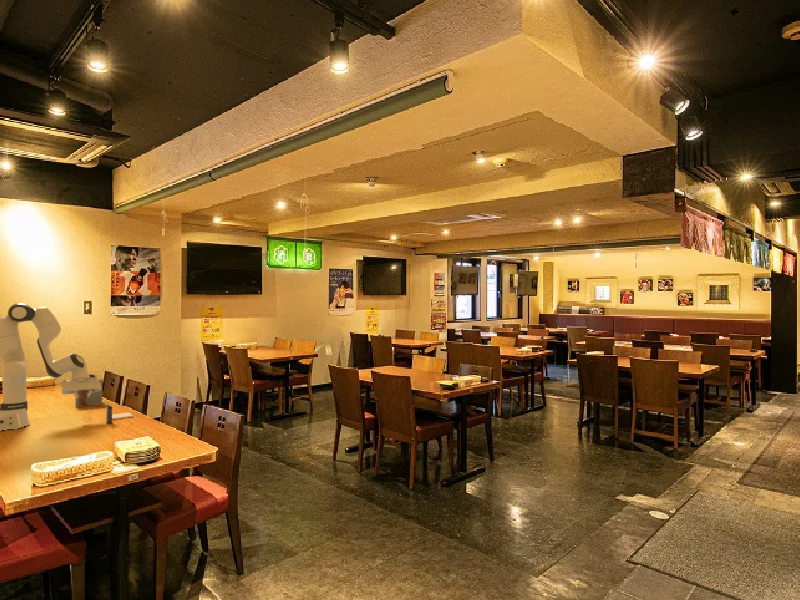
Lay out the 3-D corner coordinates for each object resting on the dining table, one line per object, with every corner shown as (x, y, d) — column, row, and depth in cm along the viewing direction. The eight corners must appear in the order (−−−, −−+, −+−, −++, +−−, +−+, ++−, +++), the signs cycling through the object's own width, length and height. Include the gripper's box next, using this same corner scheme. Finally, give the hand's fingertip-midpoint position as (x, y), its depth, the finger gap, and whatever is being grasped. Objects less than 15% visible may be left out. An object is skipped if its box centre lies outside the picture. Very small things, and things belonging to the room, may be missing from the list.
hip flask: (75, 407, 349) (75, 378, 349) (74, 406, 352) (74, 377, 352) (102, 404, 359) (102, 376, 359) (101, 403, 362) (101, 375, 363)
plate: (112, 420, 312) (112, 418, 312) (107, 416, 321) (107, 415, 321) (133, 417, 320) (133, 415, 320) (128, 413, 329) (128, 412, 329)
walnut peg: (79, 406, 304) (80, 391, 304) (78, 405, 307) (78, 390, 307) (87, 405, 307) (87, 390, 307) (85, 404, 310) (86, 390, 310)
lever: (107, 423, 302) (107, 406, 302) (100, 418, 316) (100, 401, 316) (112, 423, 304) (112, 405, 304) (104, 418, 317) (104, 401, 317)
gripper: (61, 377, 305) (63, 396, 298) (99, 375, 319) (103, 392, 312) (59, 384, 308) (61, 402, 301) (97, 381, 322) (101, 399, 315)
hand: (83, 397), depth 306 cm, fingers closed on walnut peg, 4 cm apart
